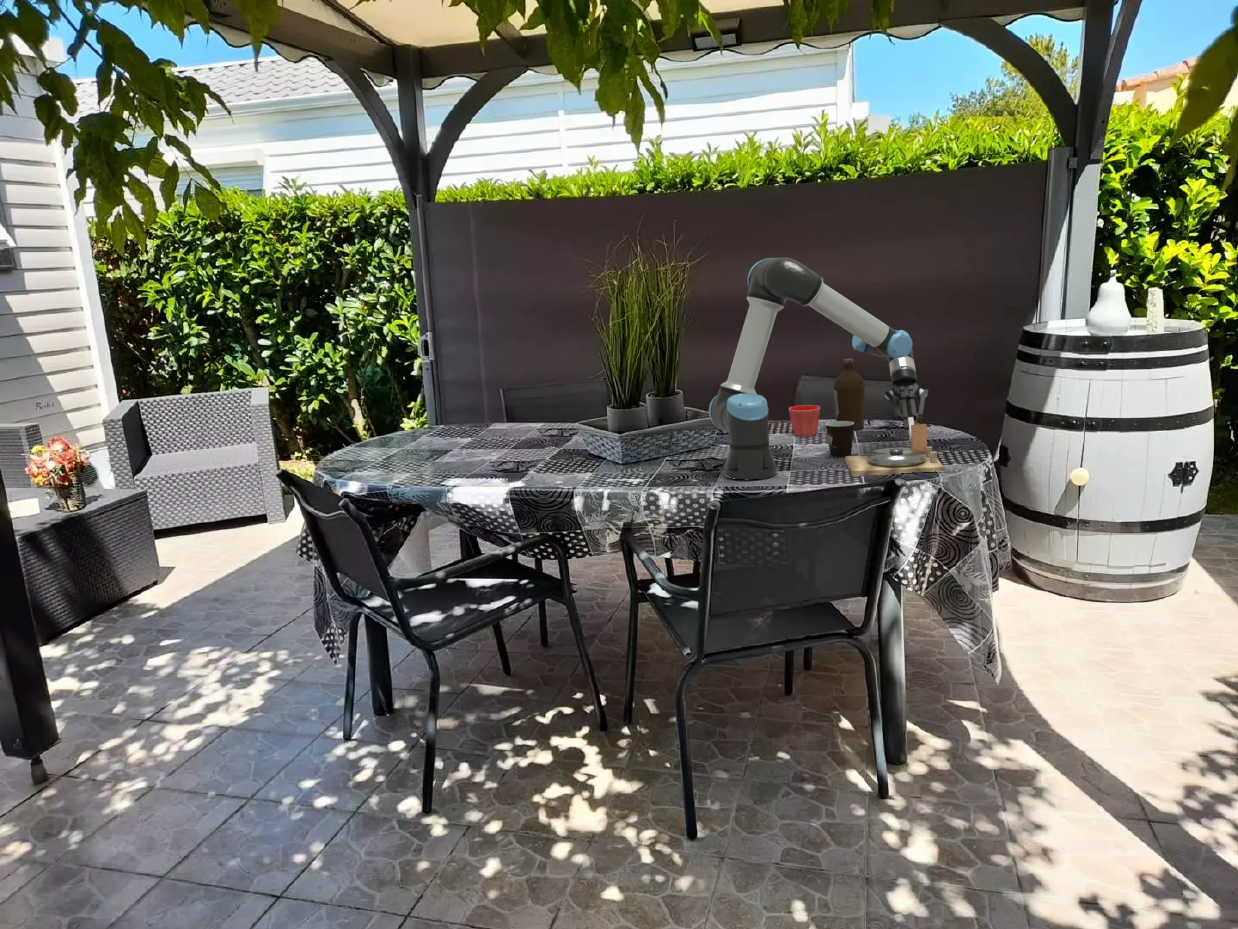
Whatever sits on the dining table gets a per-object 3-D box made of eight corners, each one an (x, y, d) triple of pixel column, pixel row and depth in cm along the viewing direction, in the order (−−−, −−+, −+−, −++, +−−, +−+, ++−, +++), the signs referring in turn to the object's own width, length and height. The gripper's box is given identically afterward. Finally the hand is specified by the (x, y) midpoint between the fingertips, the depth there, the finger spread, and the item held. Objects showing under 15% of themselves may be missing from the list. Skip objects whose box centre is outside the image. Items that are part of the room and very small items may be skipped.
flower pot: (824, 436, 304) (823, 408, 302) (792, 438, 305) (791, 411, 303) (817, 430, 315) (816, 403, 313) (787, 432, 315) (786, 406, 313)
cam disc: (874, 468, 247) (873, 433, 244) (862, 456, 262) (861, 423, 260) (934, 464, 245) (934, 429, 243) (918, 452, 261) (918, 419, 259)
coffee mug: (855, 457, 269) (855, 425, 267) (827, 458, 271) (826, 426, 269) (853, 449, 280) (852, 418, 278) (826, 450, 282) (825, 420, 280)
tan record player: (852, 476, 247) (851, 460, 246) (845, 461, 265) (845, 446, 264) (944, 472, 243) (944, 456, 242) (931, 457, 261) (931, 442, 260)
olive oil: (866, 425, 316) (865, 356, 310) (864, 431, 306) (862, 360, 301) (836, 426, 320) (834, 357, 314) (833, 431, 310) (831, 361, 304)
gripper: (923, 380, 273) (934, 443, 261) (880, 383, 276) (888, 445, 263) (926, 365, 267) (937, 429, 255) (882, 368, 269) (891, 431, 257)
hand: (912, 437), depth 259 cm, fingers closed
